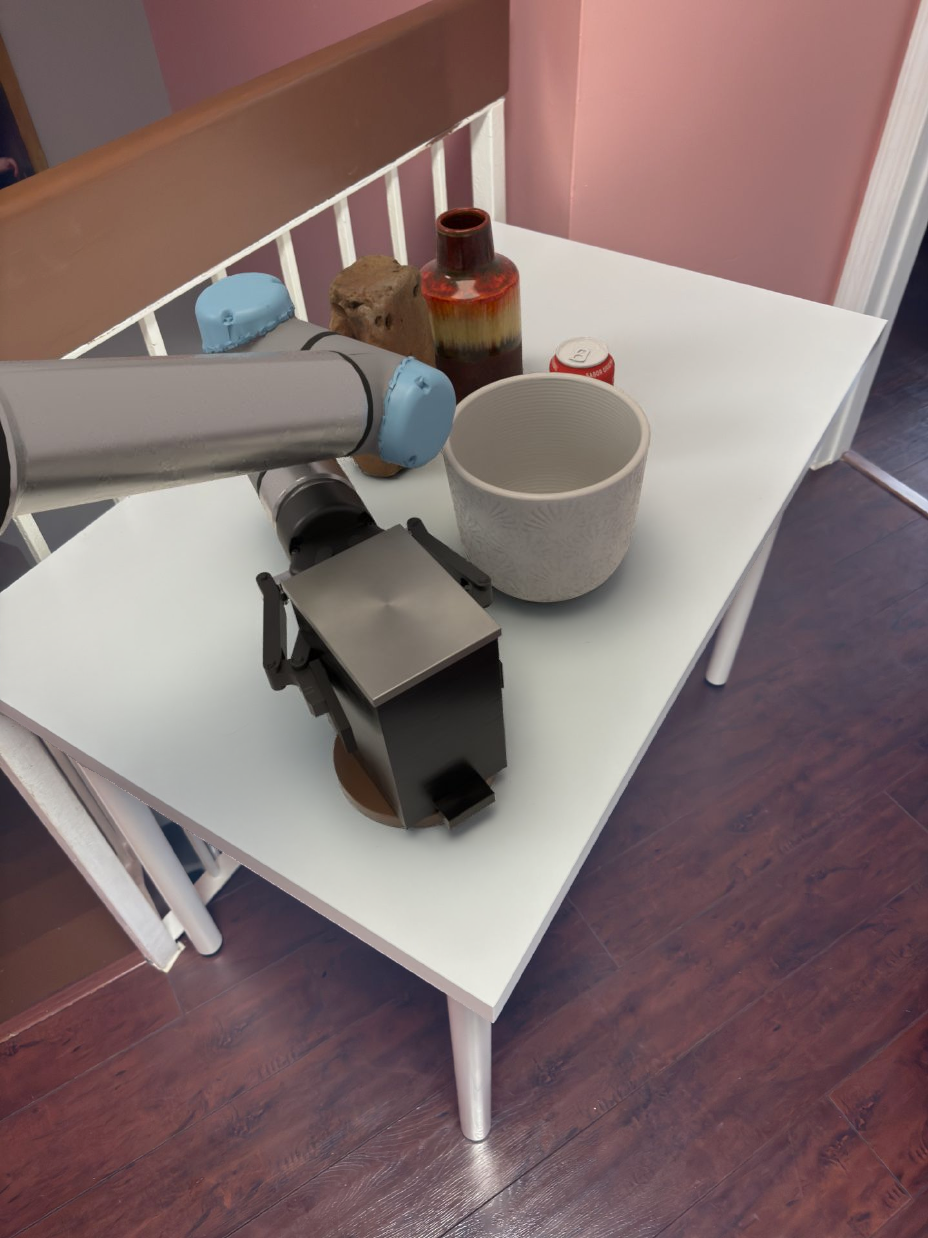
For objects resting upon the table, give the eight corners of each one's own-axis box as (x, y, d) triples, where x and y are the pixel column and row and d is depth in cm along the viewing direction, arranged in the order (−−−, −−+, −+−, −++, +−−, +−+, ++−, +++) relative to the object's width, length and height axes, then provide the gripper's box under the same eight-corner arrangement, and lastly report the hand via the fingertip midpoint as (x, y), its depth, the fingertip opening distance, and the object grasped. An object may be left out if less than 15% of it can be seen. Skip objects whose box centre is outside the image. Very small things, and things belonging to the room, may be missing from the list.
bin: (419, 852, 65) (388, 720, 53) (325, 721, 73) (280, 581, 61) (525, 783, 68) (519, 644, 56) (423, 665, 76) (399, 522, 64)
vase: (434, 369, 108) (415, 196, 93) (525, 367, 107) (520, 192, 92) (424, 423, 101) (401, 246, 86) (521, 422, 100) (515, 242, 85)
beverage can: (564, 428, 99) (564, 328, 90) (619, 441, 97) (625, 340, 88) (540, 461, 95) (538, 361, 86) (596, 476, 93) (600, 374, 84)
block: (393, 415, 103) (366, 243, 88) (450, 432, 100) (432, 256, 85) (339, 471, 97) (299, 296, 82) (398, 490, 94) (369, 313, 79)
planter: (661, 526, 87) (676, 391, 76) (602, 653, 77) (610, 519, 66) (499, 488, 93) (490, 356, 82) (425, 601, 83) (404, 470, 72)
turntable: (370, 856, 66) (367, 846, 65) (314, 726, 75) (310, 716, 73) (529, 785, 69) (528, 774, 68) (458, 668, 78) (456, 657, 76)
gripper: (447, 504, 80) (573, 678, 67) (197, 596, 75) (277, 807, 61) (439, 435, 75) (574, 609, 61) (169, 529, 70) (249, 744, 56)
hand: (425, 708), depth 61 cm, fingers closed on bin, 10 cm apart
